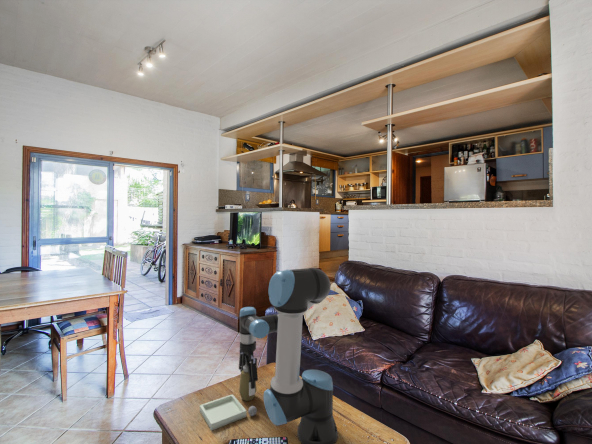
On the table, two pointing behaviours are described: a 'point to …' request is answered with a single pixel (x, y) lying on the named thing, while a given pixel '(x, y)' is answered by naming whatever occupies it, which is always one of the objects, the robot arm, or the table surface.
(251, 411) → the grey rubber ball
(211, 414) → the tray
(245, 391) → the squeeze bottle
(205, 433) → the table surface
